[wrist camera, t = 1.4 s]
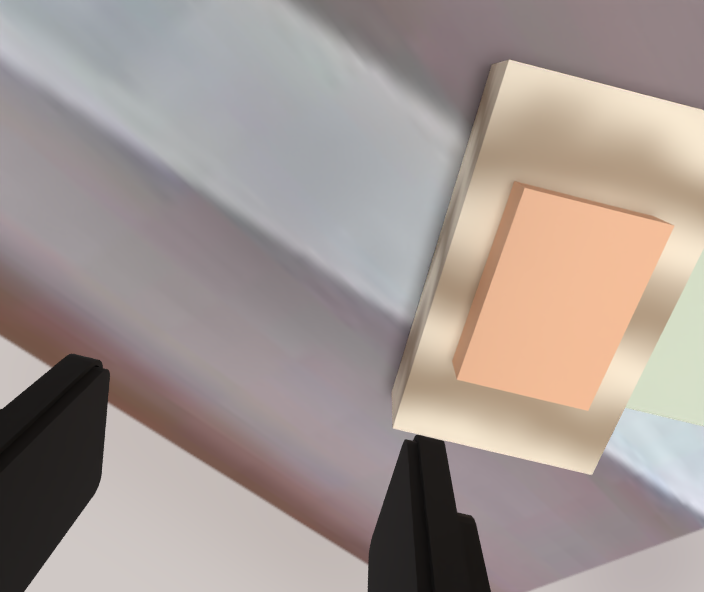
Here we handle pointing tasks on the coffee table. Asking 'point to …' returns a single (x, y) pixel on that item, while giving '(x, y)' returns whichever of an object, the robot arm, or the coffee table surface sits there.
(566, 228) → the tile
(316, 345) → the coffee table surface
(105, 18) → the coffee table surface
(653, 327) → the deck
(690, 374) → the mat
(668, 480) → the coffee table surface
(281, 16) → the coffee table surface
